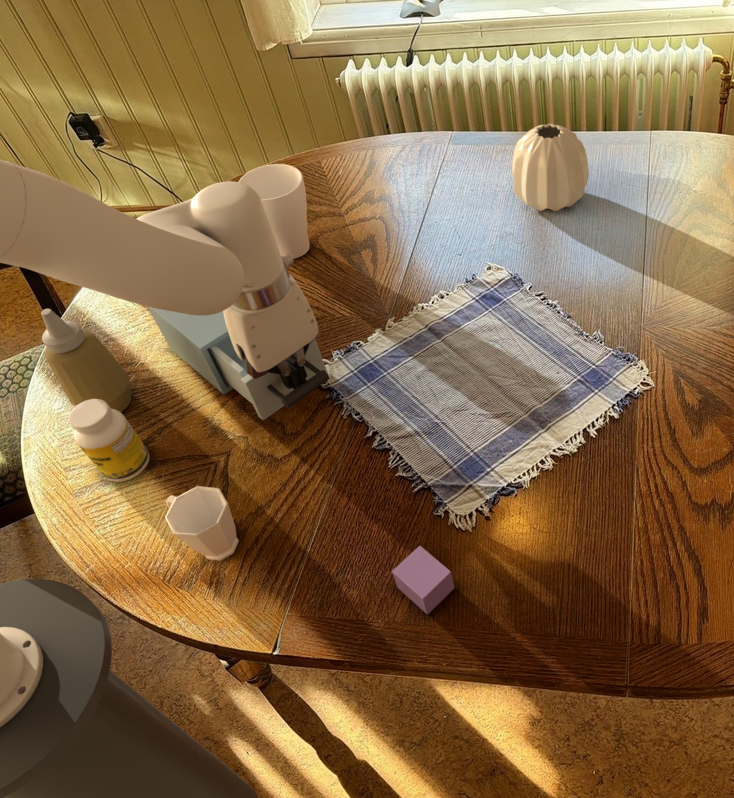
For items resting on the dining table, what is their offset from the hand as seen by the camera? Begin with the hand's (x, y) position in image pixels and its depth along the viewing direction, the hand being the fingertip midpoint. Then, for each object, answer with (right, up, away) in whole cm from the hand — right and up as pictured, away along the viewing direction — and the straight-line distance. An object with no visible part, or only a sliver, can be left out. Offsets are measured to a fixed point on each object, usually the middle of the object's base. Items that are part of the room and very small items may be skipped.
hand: (297, 385), depth 103 cm
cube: (+20, -24, -15) cm, 35 cm away
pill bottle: (-22, -11, -2) cm, 25 cm away
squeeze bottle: (-29, -3, +5) cm, 29 cm away
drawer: (-5, 0, +6) cm, 7 cm away
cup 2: (-10, +24, +28) cm, 38 cm away
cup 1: (-7, -20, -10) cm, 23 cm away
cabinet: (-14, +6, +12) cm, 19 cm away
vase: (+36, +35, +36) cm, 61 cm away
